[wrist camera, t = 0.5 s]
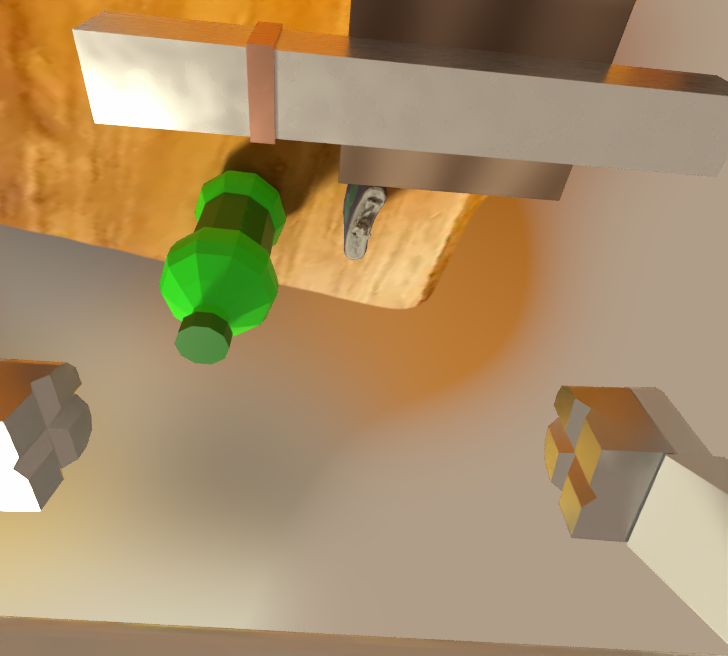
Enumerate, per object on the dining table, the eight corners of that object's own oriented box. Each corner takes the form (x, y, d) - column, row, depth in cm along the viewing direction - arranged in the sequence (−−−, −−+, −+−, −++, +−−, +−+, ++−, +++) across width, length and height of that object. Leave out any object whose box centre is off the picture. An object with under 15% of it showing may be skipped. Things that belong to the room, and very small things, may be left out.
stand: (340, 64, 51) (338, 183, 32) (350, -92, 43) (356, -62, 24) (478, 78, 52) (559, 200, 33) (513, -71, 44) (645, -26, 25)
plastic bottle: (257, 251, 65) (222, 404, 46) (183, 198, 60) (110, 347, 41) (308, 198, 60) (292, 344, 42) (233, 136, 55) (176, 271, 37)
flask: (360, 222, 63) (362, 273, 55) (337, 215, 62) (335, 266, 54) (385, 151, 57) (391, 196, 49) (359, 143, 56) (362, 188, 48)
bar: (123, 98, 28) (94, 128, 25) (104, 5, 25) (68, 24, 22) (676, 149, 31) (716, 182, 28) (716, 70, 28) (766, 96, 25)
